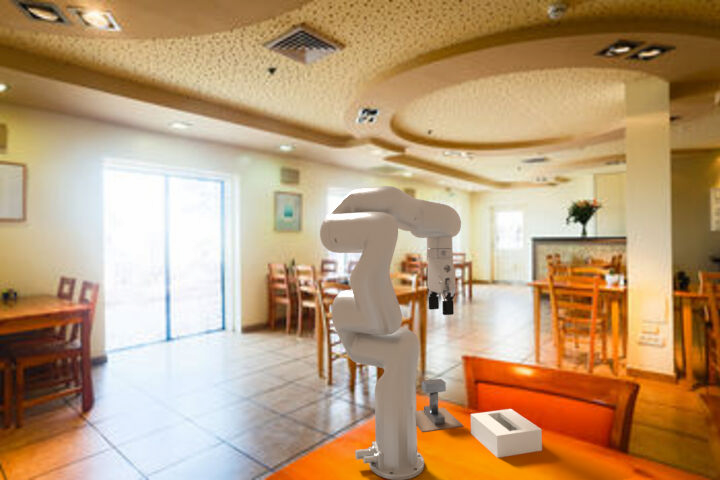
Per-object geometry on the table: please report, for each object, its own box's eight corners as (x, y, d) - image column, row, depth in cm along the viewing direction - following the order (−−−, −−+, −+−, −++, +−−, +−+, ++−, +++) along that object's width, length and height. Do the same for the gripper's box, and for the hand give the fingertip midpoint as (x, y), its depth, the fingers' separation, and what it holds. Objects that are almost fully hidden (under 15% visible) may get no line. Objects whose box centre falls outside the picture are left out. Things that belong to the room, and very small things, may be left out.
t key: (450, 423, 108) (449, 385, 108) (429, 426, 106) (429, 387, 106) (438, 411, 116) (437, 375, 116) (418, 413, 114) (418, 377, 114)
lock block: (497, 461, 91) (497, 435, 91) (471, 437, 103) (470, 414, 103) (541, 454, 94) (541, 429, 94) (511, 431, 106) (510, 408, 106)
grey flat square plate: (422, 435, 104) (422, 431, 104) (406, 416, 115) (406, 412, 115) (463, 430, 107) (463, 425, 107) (443, 411, 118) (443, 407, 118)
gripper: (465, 255, 110) (466, 316, 110) (438, 253, 127) (439, 306, 127) (440, 255, 108) (441, 317, 108) (417, 254, 125) (417, 308, 125)
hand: (440, 311), depth 117 cm, fingers open, 9 cm apart
